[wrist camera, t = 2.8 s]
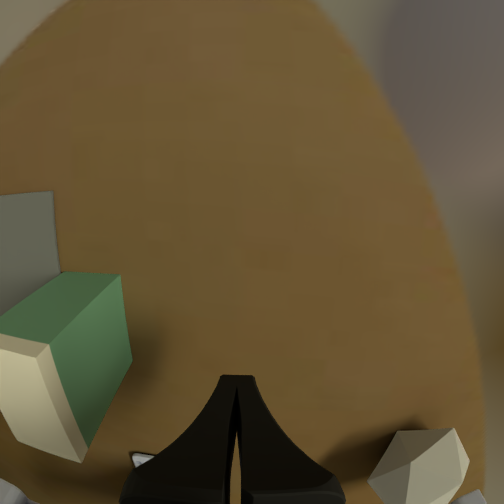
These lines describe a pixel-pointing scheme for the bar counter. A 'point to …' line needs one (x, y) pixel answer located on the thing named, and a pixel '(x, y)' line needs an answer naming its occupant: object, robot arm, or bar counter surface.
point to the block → (63, 361)
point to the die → (420, 468)
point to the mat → (26, 246)
